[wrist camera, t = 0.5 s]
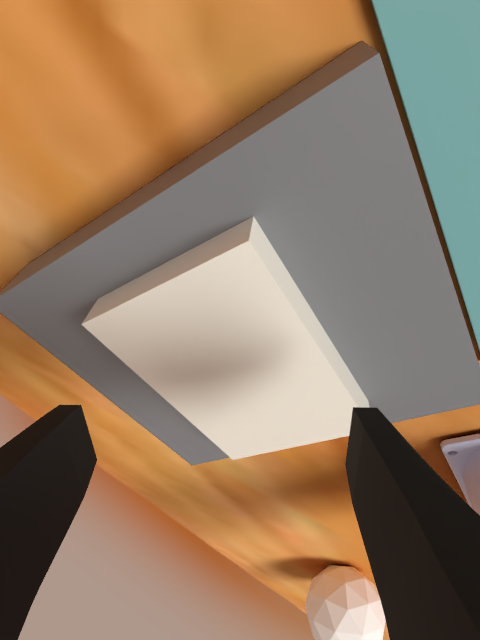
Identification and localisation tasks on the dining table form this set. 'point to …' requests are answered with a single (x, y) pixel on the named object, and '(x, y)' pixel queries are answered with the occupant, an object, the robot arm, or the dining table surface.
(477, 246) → the mat
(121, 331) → the tile
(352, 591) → the geometric ball
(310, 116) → the block
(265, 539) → the dining table surface
